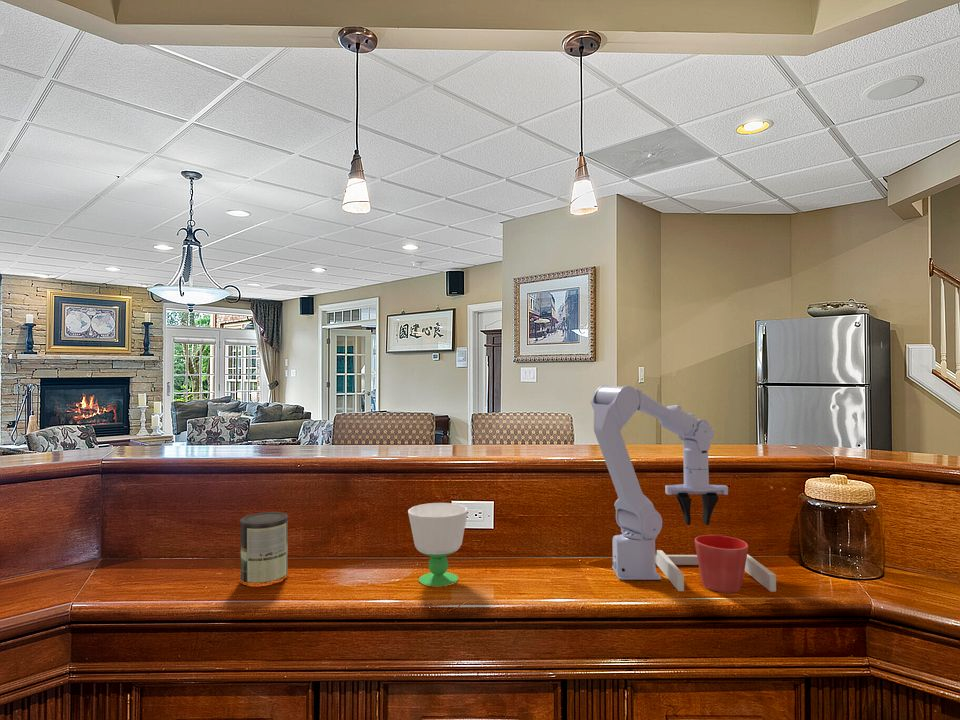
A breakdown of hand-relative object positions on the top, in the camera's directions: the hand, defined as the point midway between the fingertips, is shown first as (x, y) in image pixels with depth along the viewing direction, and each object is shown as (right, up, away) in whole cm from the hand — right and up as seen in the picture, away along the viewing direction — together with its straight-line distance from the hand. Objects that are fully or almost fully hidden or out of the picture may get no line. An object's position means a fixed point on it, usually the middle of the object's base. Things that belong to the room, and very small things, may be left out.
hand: (696, 523), depth 138 cm
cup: (-62, -10, -10) cm, 64 cm away
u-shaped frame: (0, -9, -10) cm, 14 cm away
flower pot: (0, -9, -15) cm, 18 cm away
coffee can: (-102, -10, -8) cm, 103 cm away
